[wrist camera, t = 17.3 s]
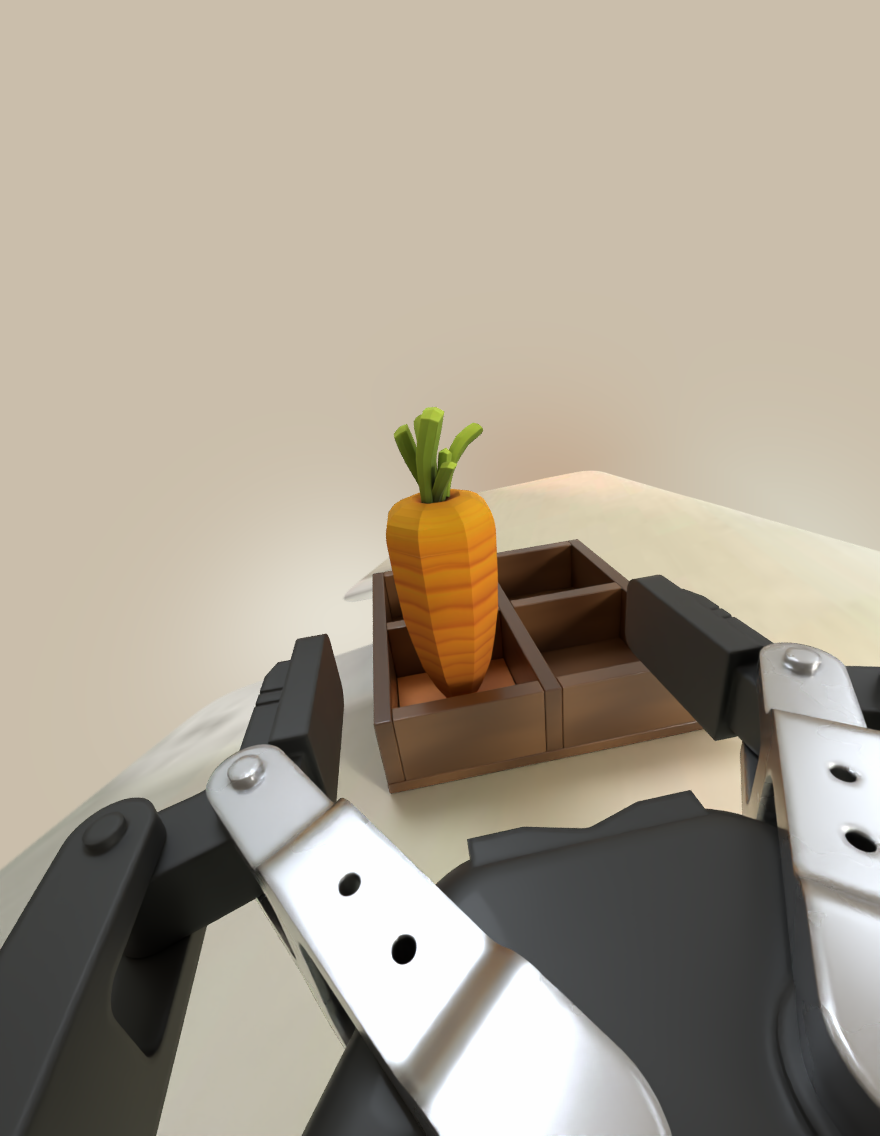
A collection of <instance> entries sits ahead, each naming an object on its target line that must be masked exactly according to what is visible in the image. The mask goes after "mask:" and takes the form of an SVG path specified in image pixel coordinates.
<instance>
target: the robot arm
mask: <svg viewBox="0 0 880 1136" xmlns="http://www.w3.org/2000/svg"><path fill="white" fill-rule="evenodd" d="M625 636H626V640H627V643H628V646H629V648H630V650H631V651H632V652H633V654H634V655H635V656H636V657H637V658H638V659H639V660H640V661H641V662H642V663H643V664H644V665H645V667H646V668H647V669H648V670H649V671H650V672H651V673H652V674H653V675H654V676H655V677H656V678H657V679H658V680H659V681H660V683H661V684H662V685H663V686H664V687H665V688H666V689H667V690H668V691H669V692H670V693H671V694H672V695H673V696H674V697H675V699H676V700H677V701H678V702H679V703H680V704H681V705H682V706H683V707H684V708H685V709H686V710H687V711H688V712H689V714H690V715H691V716H692V717H693V718H694V719H695V720H696V721H697V722H698V723H699V724H700V725H701V726H702V727H703V728H704V730H705V731H706V732H707V733H708V734H709V735H710V736H711V737H712V738H713V739H714V740H715V741H717V740H722V739H727V738H731V737H736V736H738V737H739V738H740V739H741V740H742V746H741V751H740V764H741V792H742V815H740V814H736V813H731V812H727V811H721V810H713V809H705V808H704V807H703V806H702V804H701V803H700V802H699V800H698V799H697V798H696V797H695V795H694V794H693V793H692V791H691V790H688V791H684V792H679V793H675V794H670V795H666V796H661V797H657V798H652V799H648V800H643V801H638V802H636V803H634V804H632V805H630V806H629V807H627V808H625V809H623V810H621V811H619V812H618V813H616V814H614V815H612V816H610V817H608V818H607V819H605V820H603V821H601V822H599V823H597V824H596V825H594V826H591V827H589V828H548V827H520V828H516V829H511V830H507V831H502V832H498V833H493V834H489V835H484V836H480V837H475V838H471V839H467V842H468V849H469V856H470V860H468V861H466V862H464V863H462V864H461V865H459V866H458V867H456V868H455V869H453V870H452V871H451V872H449V873H448V874H447V875H445V876H444V877H443V878H442V879H441V880H440V881H439V882H438V883H437V884H436V885H435V884H434V883H433V882H432V881H431V880H430V879H429V878H428V877H427V876H426V875H425V874H424V873H423V872H421V871H420V870H419V869H418V868H417V867H416V866H415V865H414V864H413V863H412V862H411V861H410V860H409V859H408V858H407V857H406V856H405V855H404V854H403V853H402V852H401V851H400V850H399V849H398V848H397V847H396V846H395V845H394V844H393V843H392V842H391V841H390V840H389V839H388V838H387V837H386V836H385V835H384V834H383V833H382V832H380V831H379V830H378V829H377V828H376V827H375V826H374V825H373V824H372V823H371V822H370V821H369V820H368V819H367V818H366V817H365V816H364V815H363V814H362V813H361V812H360V811H359V810H358V809H357V808H356V807H355V806H354V805H353V804H352V803H350V802H349V801H348V800H346V799H344V798H340V799H339V800H338V801H337V802H336V800H337V787H338V775H339V762H340V749H341V737H342V724H343V711H344V698H343V690H342V685H341V680H340V677H339V673H338V669H337V665H336V661H335V658H334V654H333V650H332V646H331V643H330V639H329V637H328V635H327V634H322V635H317V636H311V637H306V638H300V639H297V640H296V643H295V646H294V650H293V653H292V657H291V660H288V661H283V662H278V663H277V664H276V665H275V666H274V667H273V668H272V670H271V671H270V672H269V673H268V674H267V675H266V676H265V678H264V681H263V684H262V687H261V690H260V695H259V696H258V698H257V701H256V707H254V710H253V713H252V716H251V719H250V722H249V724H248V727H247V730H246V733H245V736H244V739H243V742H242V745H241V748H240V750H239V751H238V752H236V753H235V754H233V755H231V756H230V757H228V758H227V759H226V760H224V761H223V762H222V763H221V764H220V765H219V766H218V767H217V768H216V769H215V771H214V772H213V773H212V775H211V776H210V778H209V780H208V783H207V786H206V790H204V791H202V792H201V793H199V794H197V795H195V796H193V797H190V798H188V799H186V800H184V801H181V802H179V803H177V804H175V805H172V806H170V807H168V808H166V809H163V810H161V811H159V812H157V811H156V809H155V808H154V806H153V804H152V803H151V802H150V801H149V800H147V799H144V798H129V799H124V800H121V801H118V802H115V803H113V804H111V805H109V806H107V807H105V808H103V809H101V810H99V811H98V812H96V813H94V814H93V815H92V816H90V817H89V818H88V819H86V820H85V821H84V822H83V823H81V824H80V825H79V826H78V827H77V828H76V829H75V830H74V831H73V832H72V833H71V834H70V836H69V837H68V838H67V839H66V841H65V842H64V844H63V845H62V847H61V848H60V850H59V852H58V853H57V855H56V857H55V858H54V860H53V862H52V863H51V865H50V867H49V868H48V870H47V872H46V874H45V875H44V877H43V879H42V880H41V882H40V884H39V885H38V887H37V889H36V890H35V892H34V894H33V895H32V897H31V899H30V901H29V902H28V904H27V906H26V907H25V909H24V911H23V912H22V914H21V916H20V917H19V919H18V921H17V922H16V924H15V926H14V928H13V929H12V931H11V933H10V934H9V936H8V938H7V939H6V941H5V943H4V944H3V946H2V948H1V949H0V1136H156V1134H157V1130H158V1126H159V1121H160V1117H161V1113H162V1109H163V1105H164V1101H165V1097H166V1092H167V1088H168V1084H169V1080H170V1076H171V1072H172V1068H173V1064H174V1059H175V1055H176V1051H177V1047H178V1043H179V1039H180V1035H181V1031H182V1026H183V1022H184V1018H185V1014H186V1010H187V1006H188V1002H189V998H190V993H191V989H192V985H193V981H194V977H195V973H196V969H197V964H198V960H199V956H200V952H201V948H202V944H203V940H204V936H205V931H206V927H207V925H209V924H210V923H212V922H214V921H216V920H218V919H220V918H221V917H223V916H225V915H227V914H229V913H230V912H232V911H234V910H236V909H238V908H239V907H241V906H243V905H245V904H247V903H248V902H250V901H252V900H254V899H256V901H257V902H258V904H259V905H260V907H261V909H262V910H263V912H264V914H265V915H266V917H267V918H268V920H269V922H270V923H271V925H272V927H273V928H274V930H275V932H276V933H277V935H278V936H279V938H280V940H281V941H282V943H283V945H284V946H285V948H286V949H287V951H288V953H289V954H290V956H291V958H292V959H293V961H294V963H295V964H296V966H297V967H298V969H299V971H300V972H301V974H302V976H303V978H304V979H305V981H306V983H307V985H308V986H309V988H310V990H311V992H312V994H313V996H314V998H315V1000H316V1001H317V1003H318V1005H319V1007H320V1009H321V1010H322V1012H323V1014H324V1016H325V1017H326V1019H327V1021H328V1023H329V1024H330V1026H331V1028H332V1029H333V1031H334V1033H335V1034H336V1036H337V1037H338V1039H339V1041H340V1042H341V1044H342V1046H343V1047H344V1049H345V1051H344V1053H343V1055H342V1057H341V1059H340V1061H339V1063H338V1065H337V1067H336V1069H335V1071H334V1073H333V1075H332V1077H331V1079H330V1080H329V1082H328V1084H327V1086H326V1088H325V1090H324V1092H323V1094H322V1096H321V1098H320V1100H319V1102H318V1104H317V1106H316V1108H315V1110H314V1112H313V1114H312V1116H311V1118H310V1120H309V1122H308V1124H307V1126H306V1128H305V1130H304V1132H303V1134H302V1136H880V667H864V666H845V665H844V664H843V663H842V662H841V661H840V660H838V659H837V658H836V657H834V656H833V655H831V654H829V653H827V652H825V651H823V650H820V649H817V648H814V647H811V646H807V645H803V644H797V643H773V642H771V641H770V640H768V639H767V638H765V637H764V636H762V635H761V634H759V633H758V632H756V631H755V630H753V629H752V628H750V627H749V626H747V625H746V624H744V623H743V622H741V621H740V620H738V619H737V618H735V617H732V616H731V614H729V613H728V612H726V611H725V610H723V609H719V606H717V605H716V604H714V603H713V602H711V601H710V600H709V599H707V598H706V597H704V596H702V595H699V594H696V593H693V592H691V591H688V590H685V589H681V588H679V587H678V586H677V585H675V584H674V583H672V582H671V581H669V580H668V579H666V578H665V577H664V576H662V575H654V576H648V577H643V578H637V579H632V580H630V581H629V583H628V586H627V597H626V617H625Z"/></svg>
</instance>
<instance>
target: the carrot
mask: <svg viewBox="0 0 880 1136" xmlns="http://www.w3.org/2000/svg"><path fill="white" fill-rule="evenodd" d="M443 415H444V411H442V410H441V409H439V408H437V407H431V408H426V409H425V410H424V411H423V413H422V415H419V416H418V417H417V418H416V419H415V421H414V429H415V434H416V439H417V447H416V444H415V442H414V439H413V437H412V434H411V432H410V430H409V428H408V425H407V424H406V425H403V426H400V427H399V428H398V429H397V430H396V432H395V433H394V438H395V441H396V443H397V446H398V448H399V451H400V452H401V455H402V457H403V459H404V461H405V463H406V464H407V466H408V468H409V470H410V471H411V473H412V475H413V477H414V478H415V479H416V482H417V483H418V485H419V489H420V493H417V494H415V495H412V496H410V497H407V498H405V499H402V500H400V501H399V502H397V503H396V504H394V506H393V507H392V508H391V510H390V511H389V513H388V521H387V529H386V541H387V547H388V552H389V557H390V562H391V567H392V571H393V576H394V581H395V585H396V590H397V594H398V598H399V602H400V606H401V610H402V614H403V618H404V621H405V624H406V627H407V629H408V632H409V635H410V637H411V640H412V642H413V645H414V647H415V650H416V652H417V654H418V657H419V659H420V661H421V663H422V666H423V668H424V670H425V671H426V673H427V674H428V676H429V677H430V679H431V680H432V682H433V683H434V684H435V686H436V687H437V688H438V689H439V691H440V692H441V693H442V694H443V695H444V696H445V697H446V698H450V697H455V696H461V695H466V694H471V693H476V692H477V691H478V690H479V688H480V686H481V684H482V682H483V680H484V677H485V675H486V672H487V669H488V666H489V664H490V661H491V656H492V650H493V644H494V637H495V630H496V621H497V612H498V568H497V547H496V528H495V522H494V518H493V516H492V513H491V511H490V509H489V507H488V505H487V504H486V502H485V500H484V499H483V498H482V497H481V496H479V495H478V494H477V493H474V492H471V491H467V490H457V489H450V487H451V481H452V476H453V473H454V470H455V468H456V466H457V462H458V461H459V459H460V457H461V455H462V454H463V452H464V451H465V449H466V448H467V446H468V445H469V444H470V443H471V442H472V441H473V440H474V439H476V438H477V437H478V436H479V435H480V434H482V432H483V428H482V427H481V426H480V425H479V424H476V423H472V424H470V425H469V426H467V427H466V428H465V429H463V430H462V431H461V432H460V433H459V434H458V435H457V436H456V438H455V439H454V441H453V443H452V445H451V446H450V449H449V450H448V449H447V448H445V449H443V450H441V451H440V452H439V455H438V469H437V463H436V457H437V450H438V444H439V439H440V434H441V428H442V422H443Z"/></svg>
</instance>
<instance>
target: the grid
mask: <svg viewBox="0 0 880 1136" xmlns="http://www.w3.org/2000/svg"><path fill="white" fill-rule="evenodd" d="M497 568H498V612H497V621H496V630H495V637H494V644H493V650H492V656H491V661H490V664H489V666H488V669H487V672H486V675H485V677H484V680H483V682H482V684H481V686H480V688H479V690H478V691H477V692H476V693H471V694H466V695H461V696H455V697H450V698H446V697H445V696H444V695H443V694H442V693H441V692H440V691H439V689H438V688H437V687H436V686H435V684H434V683H433V682H432V680H431V679H430V677H429V676H428V674H427V673H426V671H425V670H424V668H423V666H422V663H421V661H420V659H419V657H418V654H417V652H416V650H415V647H414V645H413V642H412V640H411V637H410V635H409V632H408V629H407V627H406V624H405V621H404V618H403V614H402V610H401V606H400V602H399V598H398V594H397V590H396V585H395V581H394V576H393V571H387V572H384V573H383V572H382V573H376V574H373V703H374V729H375V733H376V737H377V741H378V745H379V750H380V754H381V758H382V762H383V766H384V770H385V775H386V779H387V782H388V788H389V792H390V793H391V794H392V793H397V792H402V791H406V790H411V789H416V788H421V787H426V786H431V785H435V784H440V783H445V782H450V781H455V780H459V779H464V778H469V777H474V776H479V775H484V774H488V773H493V772H498V771H503V770H508V769H512V768H517V767H522V766H527V765H532V764H537V763H541V762H546V761H551V760H556V759H561V758H565V757H570V756H575V755H580V754H585V753H590V752H594V751H599V750H604V749H609V748H614V747H619V746H623V745H628V744H633V743H638V742H643V741H647V740H652V739H657V738H662V737H667V736H672V735H676V734H681V733H686V732H691V731H696V730H700V729H704V728H703V727H702V726H701V725H700V724H699V723H698V722H697V721H696V720H695V719H694V718H693V717H692V716H691V715H690V714H689V712H688V711H687V710H686V709H685V708H684V707H683V706H682V705H681V704H680V703H679V702H678V701H677V700H676V699H675V697H674V696H673V695H672V694H671V693H670V692H669V691H668V690H667V689H666V688H665V687H664V686H663V685H662V684H661V683H660V681H659V680H658V679H657V678H656V677H655V676H654V675H653V674H652V673H651V672H650V671H649V670H648V669H647V668H646V667H645V665H644V664H643V663H642V662H641V661H640V660H639V659H638V658H637V657H636V656H635V655H634V654H633V652H632V651H631V650H630V648H629V646H628V643H627V640H626V636H625V617H626V597H627V586H628V583H629V581H628V580H627V579H626V578H625V577H623V576H622V575H621V574H620V573H618V572H617V571H616V570H615V569H614V568H612V567H611V566H610V565H609V564H607V563H606V562H605V561H604V560H602V559H601V558H600V557H599V556H598V555H596V554H595V553H594V552H593V551H591V550H590V549H589V548H588V547H586V546H585V545H584V544H583V543H582V542H580V541H579V540H578V539H576V540H570V541H564V542H559V543H553V544H547V545H541V546H535V547H529V548H523V549H517V550H511V551H505V552H500V553H497Z"/></svg>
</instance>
